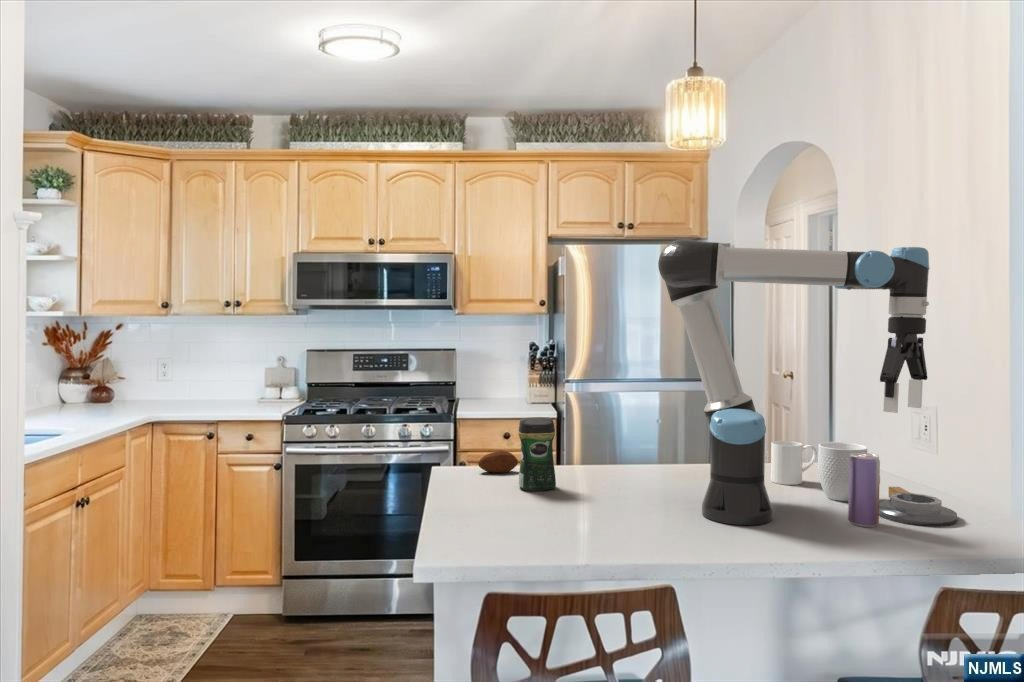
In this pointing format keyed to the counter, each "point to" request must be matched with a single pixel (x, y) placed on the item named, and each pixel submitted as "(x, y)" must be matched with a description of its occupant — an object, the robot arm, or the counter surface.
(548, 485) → the coffee jar
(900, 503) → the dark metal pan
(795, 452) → the mug
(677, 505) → the counter surface
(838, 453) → the mug
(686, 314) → the robot arm
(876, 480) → the beverage can
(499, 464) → the potato
